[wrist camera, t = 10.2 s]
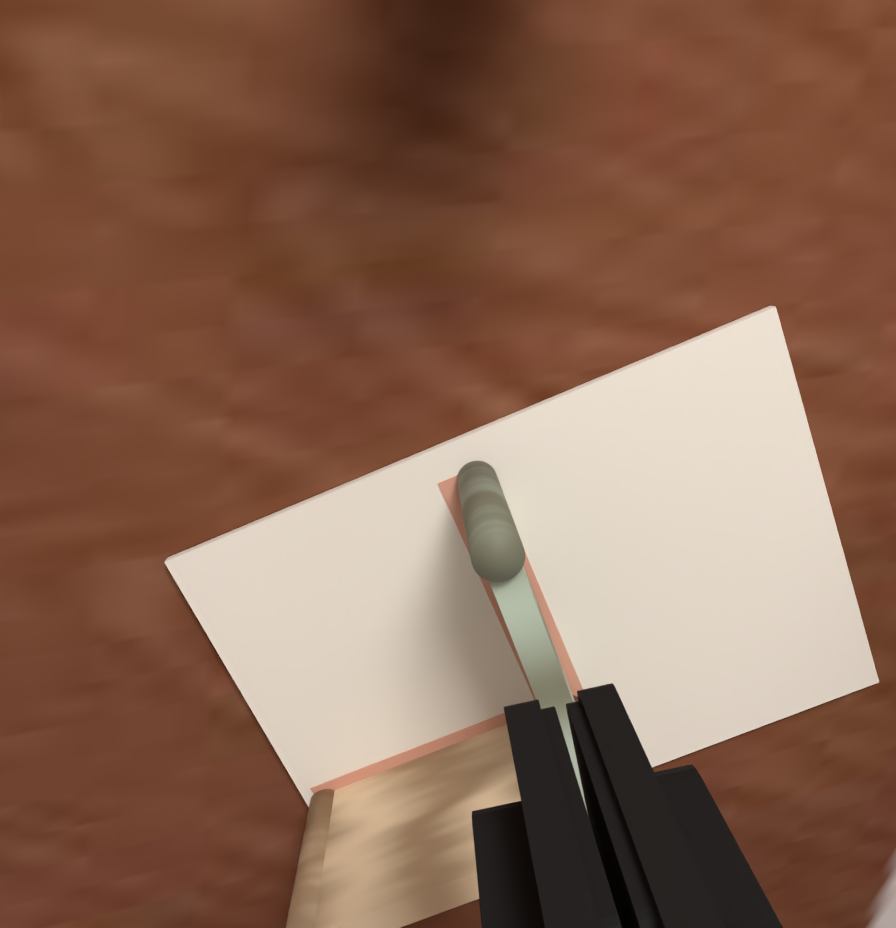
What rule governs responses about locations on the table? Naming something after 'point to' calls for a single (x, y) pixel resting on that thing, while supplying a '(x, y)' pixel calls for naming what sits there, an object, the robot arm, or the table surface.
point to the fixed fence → (400, 838)
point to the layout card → (554, 573)
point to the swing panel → (513, 588)
